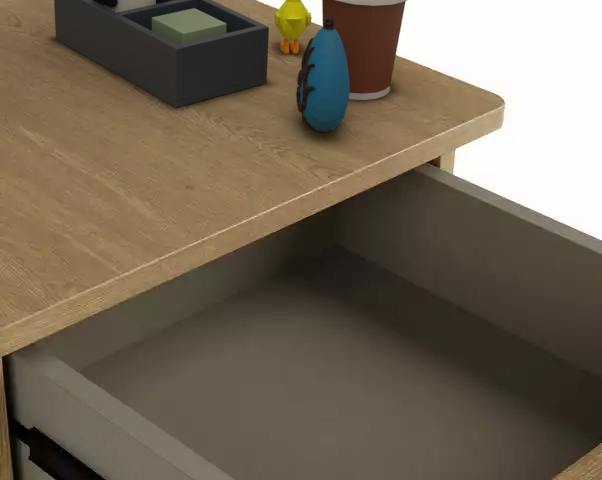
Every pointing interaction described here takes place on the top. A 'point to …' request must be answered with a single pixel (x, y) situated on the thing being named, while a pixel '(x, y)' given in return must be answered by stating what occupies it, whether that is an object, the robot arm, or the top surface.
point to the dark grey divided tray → (167, 48)
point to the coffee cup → (367, 42)
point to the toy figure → (292, 23)
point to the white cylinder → (130, 4)
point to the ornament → (323, 80)
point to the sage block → (187, 26)
